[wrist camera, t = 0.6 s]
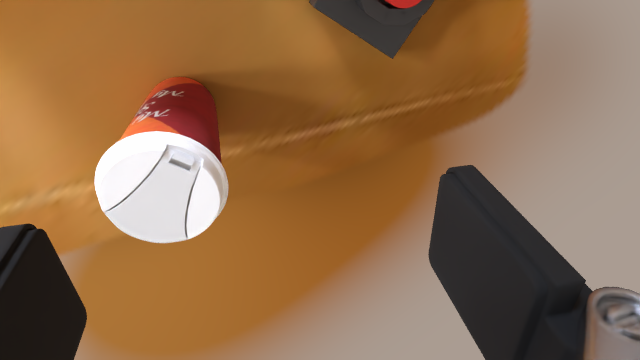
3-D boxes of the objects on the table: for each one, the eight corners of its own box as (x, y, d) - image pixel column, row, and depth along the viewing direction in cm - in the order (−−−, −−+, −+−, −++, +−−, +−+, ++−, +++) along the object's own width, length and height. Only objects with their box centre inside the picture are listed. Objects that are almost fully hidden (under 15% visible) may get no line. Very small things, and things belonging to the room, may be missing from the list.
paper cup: (155, 45, 33) (116, 119, 21) (243, 91, 36) (251, 175, 24) (120, 125, 35) (69, 228, 24) (204, 160, 39) (195, 265, 27)
